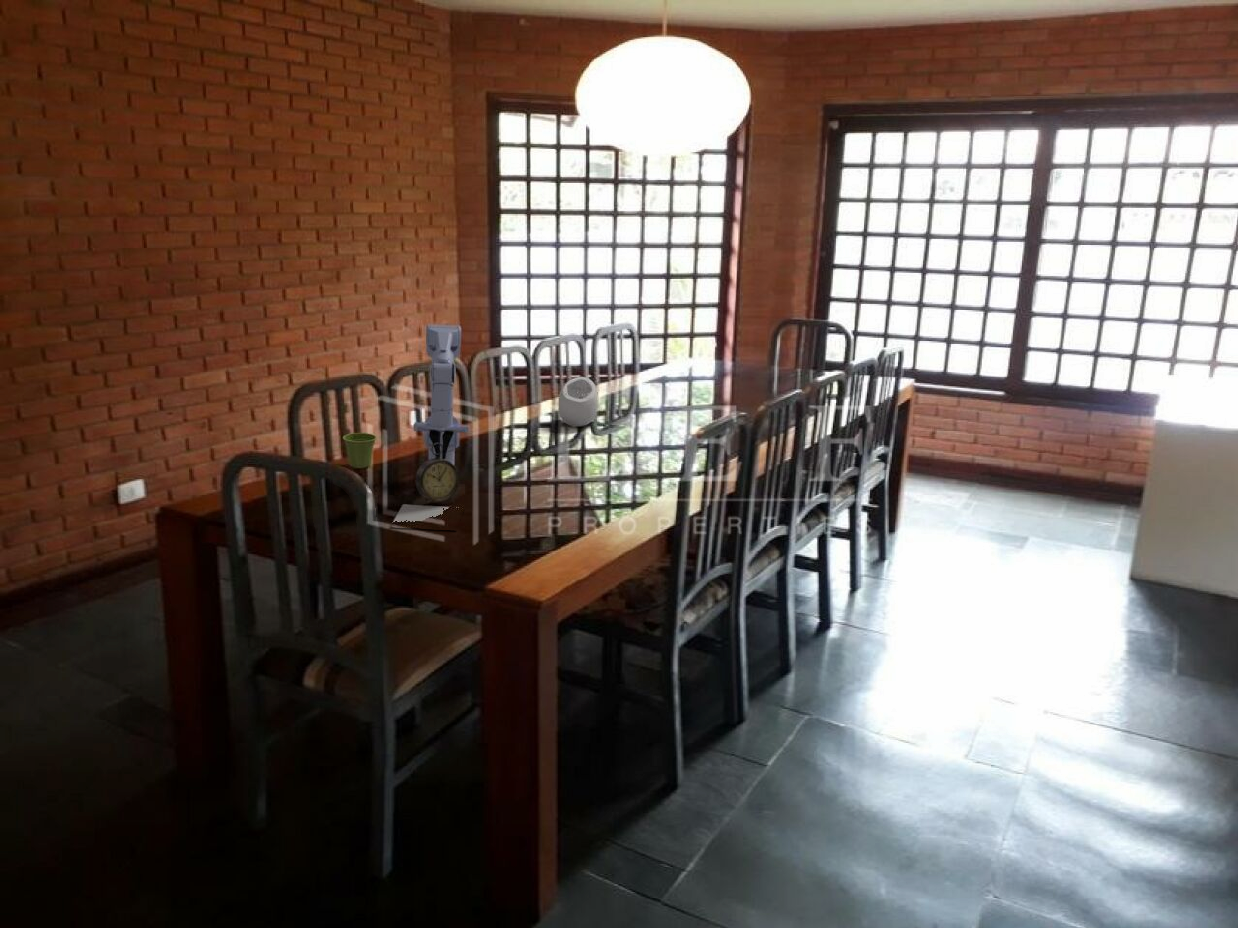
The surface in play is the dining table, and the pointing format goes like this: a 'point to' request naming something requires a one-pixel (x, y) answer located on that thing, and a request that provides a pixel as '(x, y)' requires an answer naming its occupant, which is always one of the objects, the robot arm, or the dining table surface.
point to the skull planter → (578, 402)
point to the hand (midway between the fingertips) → (441, 458)
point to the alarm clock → (437, 479)
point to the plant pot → (359, 449)
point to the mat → (418, 512)
